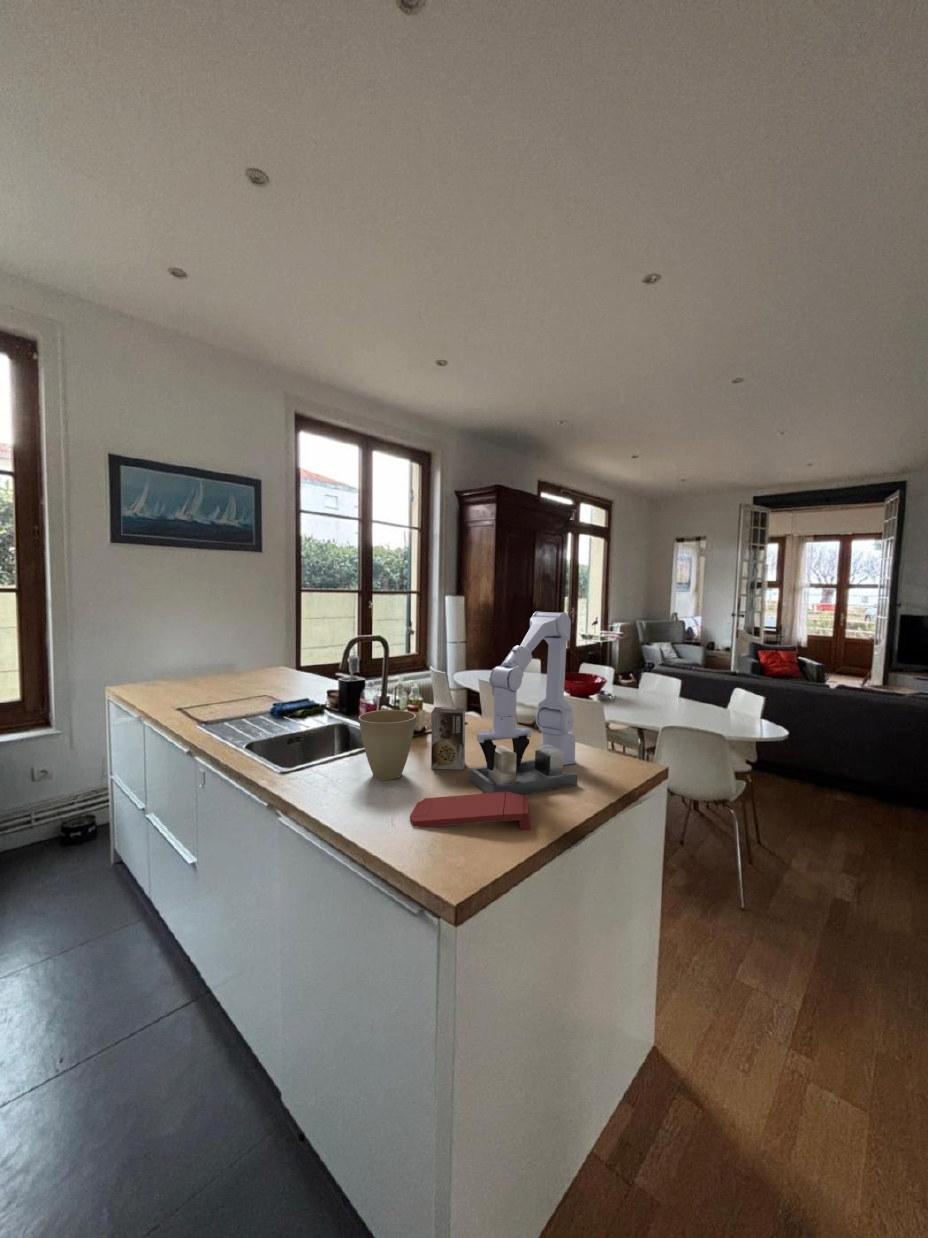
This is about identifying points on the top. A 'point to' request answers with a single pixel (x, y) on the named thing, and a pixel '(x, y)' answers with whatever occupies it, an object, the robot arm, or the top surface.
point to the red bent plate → (472, 810)
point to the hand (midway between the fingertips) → (503, 767)
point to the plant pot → (387, 741)
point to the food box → (448, 738)
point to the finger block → (504, 766)
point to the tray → (530, 774)
